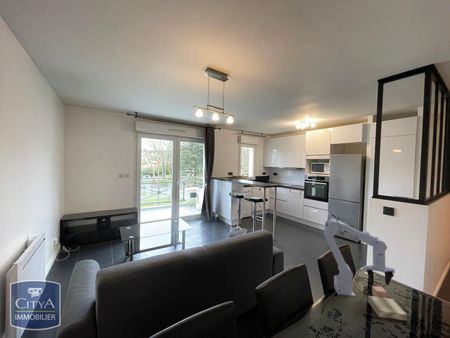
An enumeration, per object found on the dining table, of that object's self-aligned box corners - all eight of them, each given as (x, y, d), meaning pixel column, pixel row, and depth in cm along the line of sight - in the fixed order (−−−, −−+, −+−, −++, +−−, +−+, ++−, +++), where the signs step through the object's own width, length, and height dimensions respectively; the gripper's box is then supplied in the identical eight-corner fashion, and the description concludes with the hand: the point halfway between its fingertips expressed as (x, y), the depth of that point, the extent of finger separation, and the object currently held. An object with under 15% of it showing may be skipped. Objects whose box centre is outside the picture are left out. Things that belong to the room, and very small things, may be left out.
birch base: (379, 316, 99) (379, 310, 99) (367, 301, 111) (367, 295, 111) (407, 320, 96) (407, 314, 96) (392, 304, 108) (392, 298, 108)
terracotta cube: (376, 299, 112) (376, 291, 112) (372, 294, 117) (372, 285, 117) (386, 301, 110) (386, 292, 111) (382, 295, 115) (381, 287, 115)
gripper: (368, 262, 111) (368, 285, 111) (397, 264, 108) (398, 289, 108) (362, 256, 118) (362, 279, 118) (390, 258, 115) (390, 282, 115)
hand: (379, 283), depth 114 cm, fingers open, 7 cm apart
